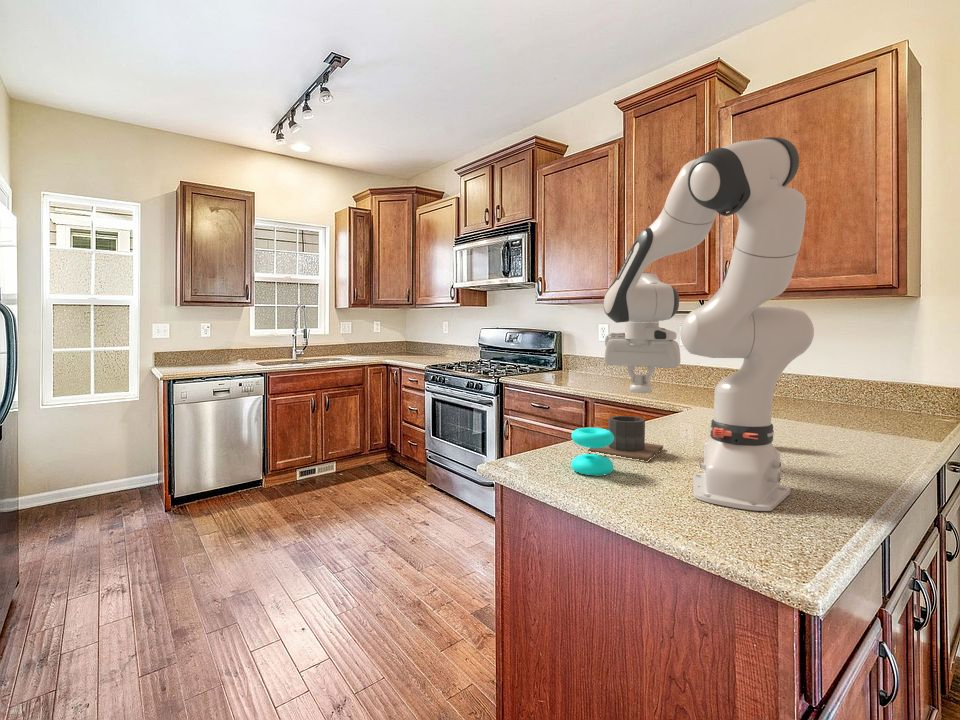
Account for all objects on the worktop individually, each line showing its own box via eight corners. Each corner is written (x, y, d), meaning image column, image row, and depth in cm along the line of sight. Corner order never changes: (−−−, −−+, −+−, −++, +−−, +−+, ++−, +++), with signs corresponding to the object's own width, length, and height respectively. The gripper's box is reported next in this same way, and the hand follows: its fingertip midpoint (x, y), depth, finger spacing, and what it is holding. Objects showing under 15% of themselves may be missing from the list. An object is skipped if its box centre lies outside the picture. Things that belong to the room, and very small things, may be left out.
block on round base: (648, 393, 134) (648, 376, 134) (626, 391, 138) (627, 375, 137) (654, 391, 139) (654, 374, 139) (633, 389, 142) (633, 373, 142)
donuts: (567, 426, 124) (606, 426, 125) (566, 465, 125) (606, 465, 125) (577, 435, 114) (620, 434, 115) (576, 478, 115) (619, 477, 115)
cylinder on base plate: (647, 462, 127) (648, 427, 127) (588, 453, 136) (588, 420, 136) (663, 449, 141) (663, 417, 140) (608, 442, 150) (608, 411, 149)
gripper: (601, 332, 140) (600, 381, 141) (676, 333, 129) (675, 386, 130) (609, 332, 146) (608, 379, 147) (682, 333, 134) (681, 384, 135)
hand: (640, 382), depth 138 cm, fingers closed on block on round base
